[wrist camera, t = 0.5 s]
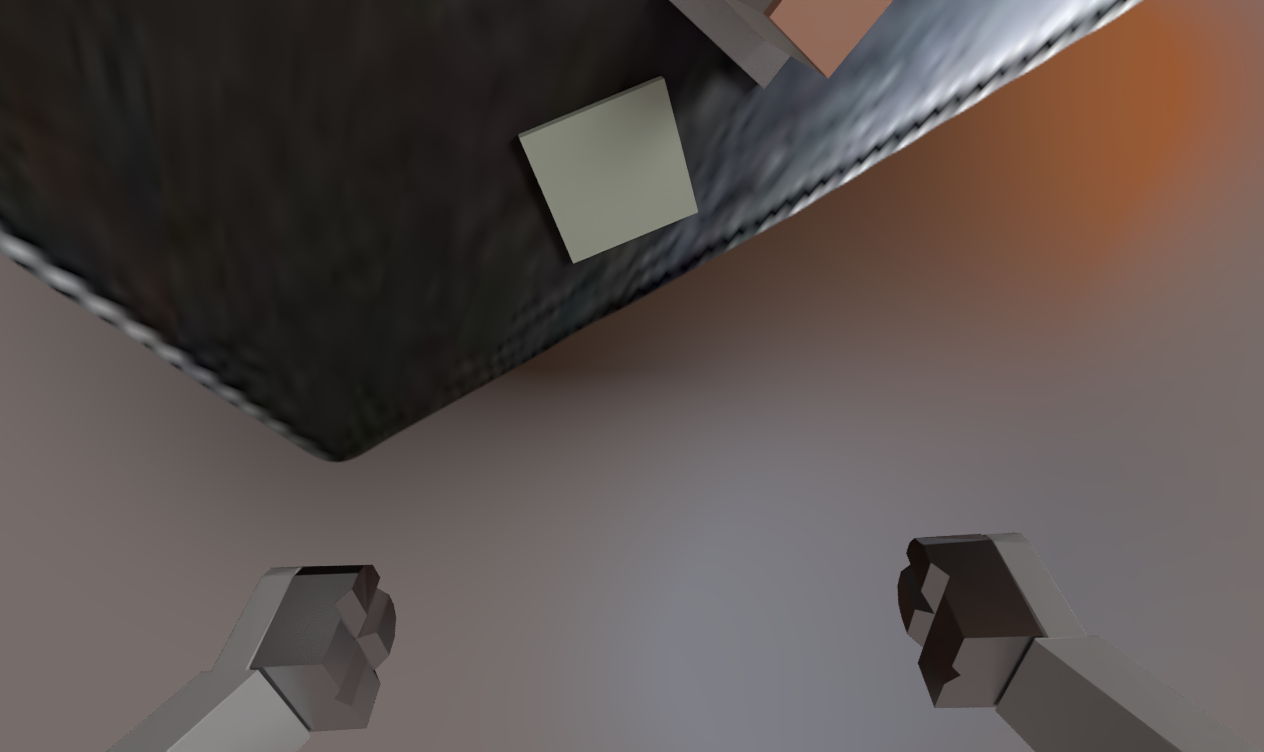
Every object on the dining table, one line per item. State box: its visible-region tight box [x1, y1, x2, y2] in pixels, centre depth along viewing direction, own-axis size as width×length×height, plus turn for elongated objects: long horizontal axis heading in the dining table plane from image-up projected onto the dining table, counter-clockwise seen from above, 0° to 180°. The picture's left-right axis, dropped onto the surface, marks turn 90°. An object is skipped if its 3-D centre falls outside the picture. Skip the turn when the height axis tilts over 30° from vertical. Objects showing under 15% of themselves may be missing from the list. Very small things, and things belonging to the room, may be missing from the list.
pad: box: [518, 76, 698, 263], centre depth 54 cm, size 12×12×1 cm
